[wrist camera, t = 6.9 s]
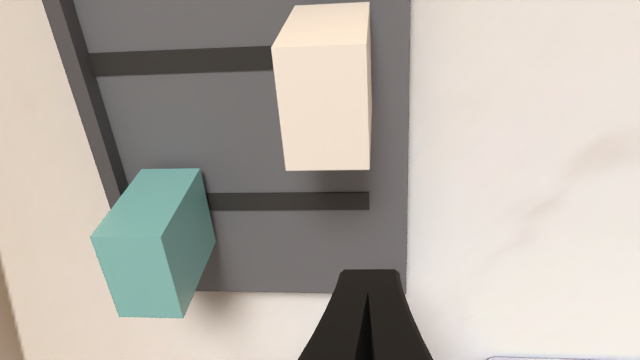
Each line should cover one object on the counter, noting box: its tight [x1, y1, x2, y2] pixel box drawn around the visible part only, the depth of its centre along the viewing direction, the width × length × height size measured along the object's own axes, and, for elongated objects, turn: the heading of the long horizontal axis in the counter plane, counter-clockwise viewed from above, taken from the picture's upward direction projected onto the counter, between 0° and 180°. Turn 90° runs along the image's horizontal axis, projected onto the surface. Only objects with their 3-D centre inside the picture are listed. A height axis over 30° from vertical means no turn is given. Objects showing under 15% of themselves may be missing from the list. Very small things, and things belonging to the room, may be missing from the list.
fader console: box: [42, 0, 411, 294], centre depth 21 cm, size 14×12×2 cm
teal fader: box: [90, 168, 216, 318], centre depth 20 cm, size 4×2×4 cm, turn 4°
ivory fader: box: [271, 2, 372, 171], centre depth 16 cm, size 4×2×4 cm, turn 4°
